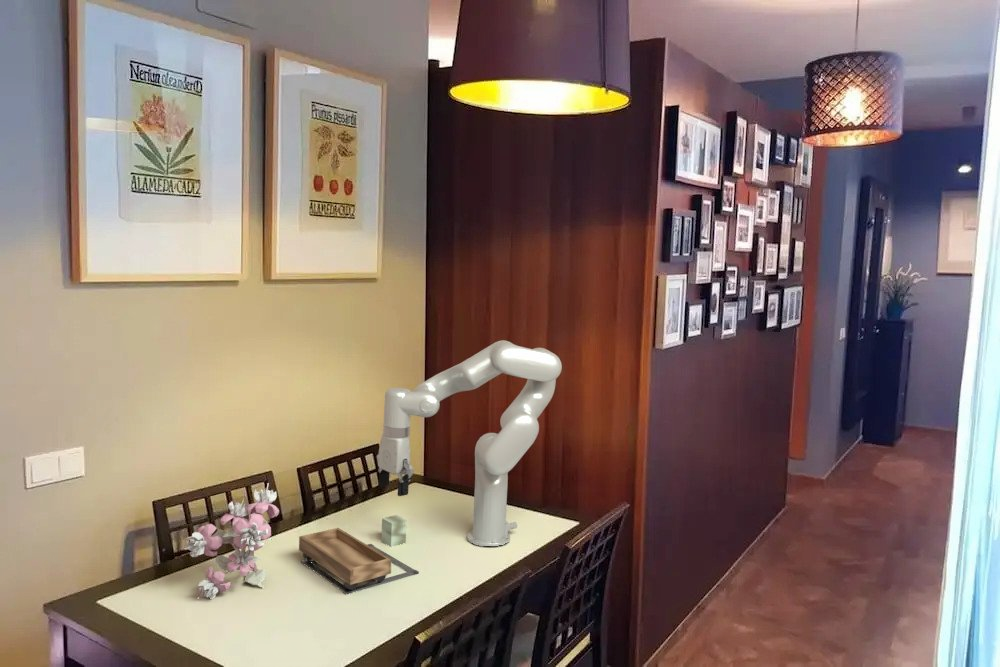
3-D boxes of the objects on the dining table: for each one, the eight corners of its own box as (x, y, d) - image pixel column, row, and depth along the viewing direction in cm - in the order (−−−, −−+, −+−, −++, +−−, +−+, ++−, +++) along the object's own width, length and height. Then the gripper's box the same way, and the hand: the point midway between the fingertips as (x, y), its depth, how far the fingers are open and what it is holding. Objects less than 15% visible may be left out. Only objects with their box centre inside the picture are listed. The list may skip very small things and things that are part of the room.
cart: (337, 548, 214) (338, 527, 213) (390, 582, 194) (391, 559, 193) (298, 558, 206) (299, 536, 206) (350, 594, 186) (350, 570, 186)
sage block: (395, 538, 226) (396, 514, 225) (405, 543, 222) (406, 519, 221) (381, 541, 222) (382, 518, 222) (391, 547, 219) (391, 523, 218)
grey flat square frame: (370, 545, 219) (370, 543, 219) (418, 573, 202) (418, 571, 202) (300, 562, 205) (300, 560, 205) (345, 594, 187) (346, 592, 187)
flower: (189, 562, 198) (178, 491, 185) (279, 545, 206) (275, 476, 193) (191, 627, 183) (179, 554, 169) (289, 606, 190) (285, 535, 177)
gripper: (368, 426, 223) (365, 484, 224) (402, 440, 210) (399, 501, 211) (390, 424, 228) (387, 480, 229) (425, 437, 215) (421, 497, 216)
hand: (393, 490), depth 220 cm, fingers open, 9 cm apart
